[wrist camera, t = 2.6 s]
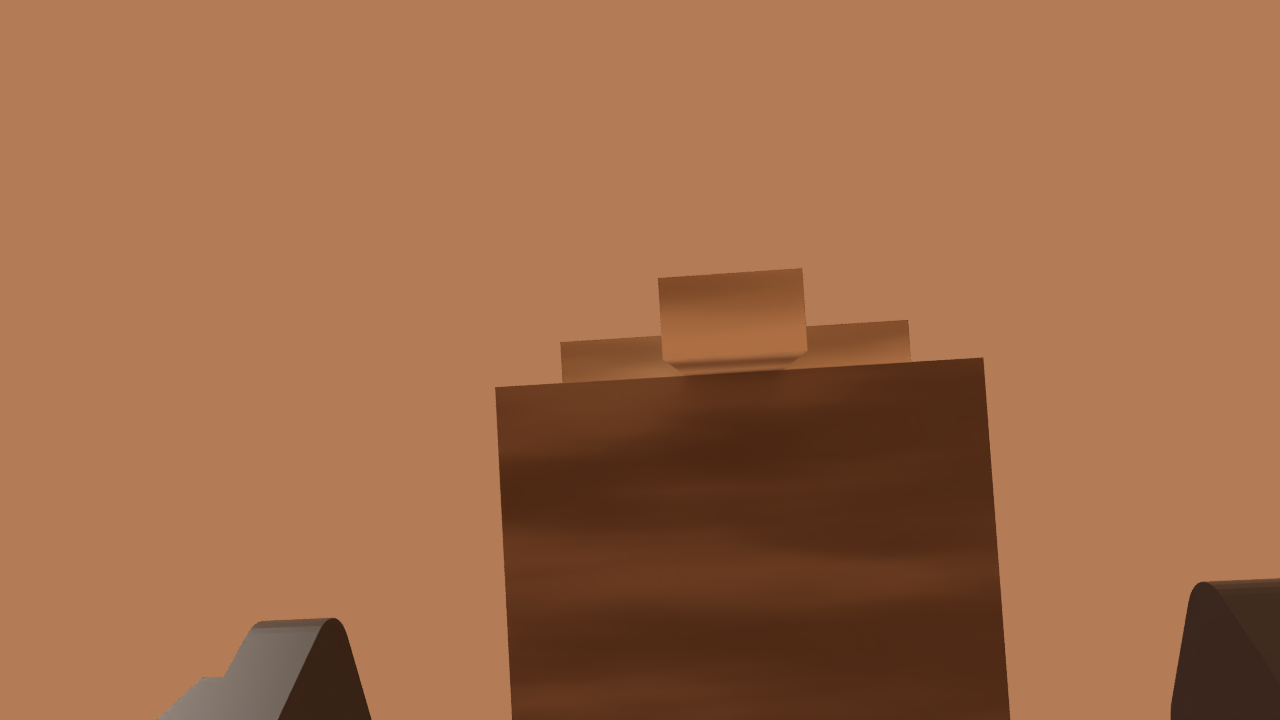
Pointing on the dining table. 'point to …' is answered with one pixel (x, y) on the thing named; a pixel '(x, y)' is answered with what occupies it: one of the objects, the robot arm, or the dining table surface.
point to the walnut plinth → (753, 546)
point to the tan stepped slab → (734, 333)
